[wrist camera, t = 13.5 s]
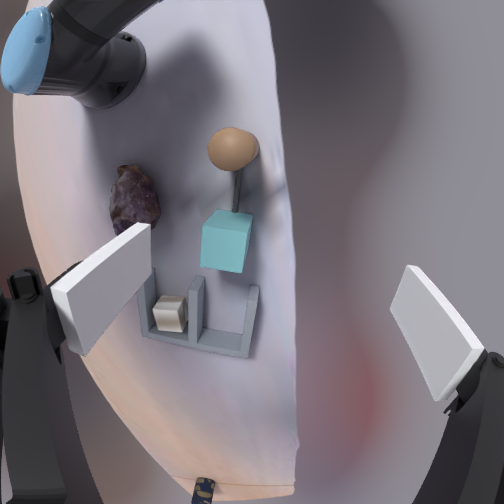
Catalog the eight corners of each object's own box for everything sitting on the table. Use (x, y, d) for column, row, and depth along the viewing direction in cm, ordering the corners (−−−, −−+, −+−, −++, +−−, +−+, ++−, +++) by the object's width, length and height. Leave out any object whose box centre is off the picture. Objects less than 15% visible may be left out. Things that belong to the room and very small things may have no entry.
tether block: (225, 129, 39) (206, 125, 28) (264, 134, 38) (259, 130, 27) (213, 243, 46) (193, 276, 35) (248, 248, 46) (239, 284, 35)
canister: (193, 477, 97) (186, 505, 81) (204, 476, 94) (197, 505, 78) (207, 483, 99) (202, 510, 83) (219, 481, 96) (214, 510, 80)
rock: (127, 221, 47) (174, 226, 47) (103, 244, 40) (155, 252, 40) (120, 161, 41) (172, 162, 40) (91, 176, 34) (147, 178, 33)
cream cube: (161, 295, 52) (152, 309, 47) (185, 296, 51) (177, 310, 47) (166, 315, 54) (158, 330, 49) (189, 317, 53) (182, 332, 49)
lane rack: (147, 266, 49) (135, 278, 45) (259, 286, 49) (257, 301, 44) (151, 321, 55) (142, 336, 50) (250, 341, 54) (247, 358, 49)
